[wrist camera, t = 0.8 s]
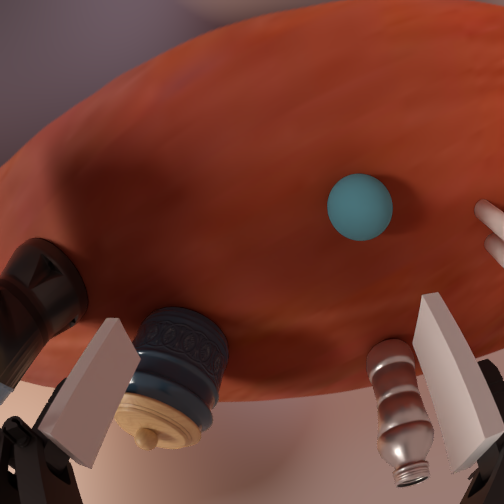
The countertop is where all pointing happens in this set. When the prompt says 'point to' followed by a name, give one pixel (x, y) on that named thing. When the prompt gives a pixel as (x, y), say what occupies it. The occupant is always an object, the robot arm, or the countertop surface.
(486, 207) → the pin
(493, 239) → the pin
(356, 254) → the countertop surface
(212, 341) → the canister
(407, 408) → the plastic bottle
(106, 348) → the robot arm
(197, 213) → the countertop surface
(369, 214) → the ball
